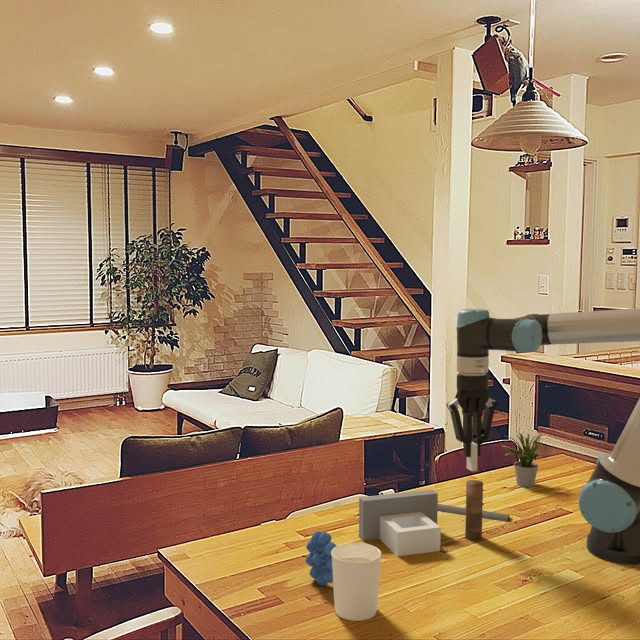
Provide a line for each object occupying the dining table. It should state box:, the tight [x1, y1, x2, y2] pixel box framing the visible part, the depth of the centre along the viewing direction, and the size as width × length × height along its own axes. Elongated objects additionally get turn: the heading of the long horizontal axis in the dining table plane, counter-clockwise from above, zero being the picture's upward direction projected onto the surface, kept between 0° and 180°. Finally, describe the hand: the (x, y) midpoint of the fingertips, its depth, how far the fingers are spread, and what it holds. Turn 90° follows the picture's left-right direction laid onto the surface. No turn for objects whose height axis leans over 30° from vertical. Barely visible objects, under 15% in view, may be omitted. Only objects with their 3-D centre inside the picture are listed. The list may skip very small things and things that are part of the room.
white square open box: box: [379, 512, 441, 557], centre depth 179 cm, size 11×11×6 cm
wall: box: [358, 489, 439, 542], centre depth 186 cm, size 3×20×10 cm, turn 107°
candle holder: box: [331, 542, 382, 622], centre depth 146 cm, size 10×10×12 cm
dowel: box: [464, 479, 484, 542], centre depth 183 cm, size 4×4×14 cm
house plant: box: [500, 431, 546, 488], centre depth 227 cm, size 14×14×16 cm
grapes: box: [305, 530, 337, 587], centre depth 157 cm, size 12×7×12 cm, turn 30°
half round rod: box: [437, 503, 510, 523], centre depth 201 cm, size 4×20×2 cm, turn 65°
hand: (471, 469), depth 180 cm, fingers closed
